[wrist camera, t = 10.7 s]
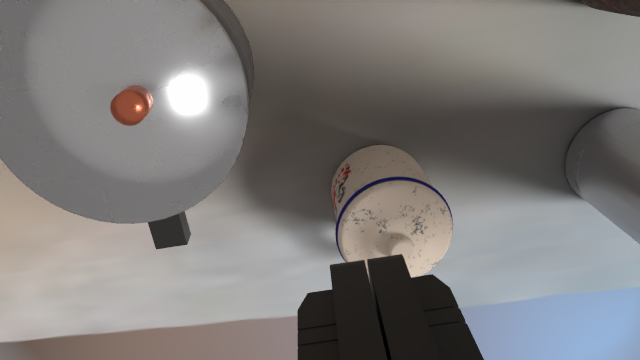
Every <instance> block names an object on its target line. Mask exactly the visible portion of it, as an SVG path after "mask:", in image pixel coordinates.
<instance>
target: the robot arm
mask: <svg viewBox="0 0 640 360" xmlns="http://www.w3.org/2000/svg"><path fill="white" fill-rule="evenodd" d="M565 170H566V176H567V179H568V182H569V184H570V185H571V187H572V189H573V190H574V191H575V192H576V193H577V194H579V195H580V196H581V197H582V198H583V199H585V200H586V201H587V202H588V203H590V204H591V205H592V206H593V207H595V208H596V209H597V210H598V211H599V212H601V213H602V214H603V215H604V216H605V217H607V218H608V219H609V220H610V221H612V222H613V223H614V224H615V225H617V226H618V227H619V228H620V229H622V230H623V231H624V232H625V233H627V234H628V235H629V236H630V237H632V238H633V239H634V240H635V241H637V242H638V243H639V244H640V110H638V109H632V108H622V109H615V110H611V111H608V112H606V113H603V114H601V115H599V116H597V117H596V118H594V119H592V120H591V121H590V122H589V123H587V124H586V125H585V126H584V127H583V128H582V129H581V130H580V131H579V132H578V134H577V135H576V136H575V138H574V140H573V141H572V143H571V144H570V147H569V150H568V152H567V156H566V162H565ZM367 265H368V273H369V277H368V273H367V269H366V264H365V260H360V261H353V262H346V263H340V264H333V265H330V271H331V280H332V290H325V291H319V292H312V293H308V294H307V295H306V297H305V299H304V301H303V302H302V304H301V306H300V307H299V309H298V360H484V359H483V357H482V355H481V353H480V351H479V349H478V346H477V344H476V342H475V340H474V338H473V336H472V334H471V332H470V330H469V327H468V325H467V324H466V323H465V319H464V317H463V315H462V313H461V310H460V309H459V308H458V304H457V302H456V300H455V298H454V296H453V294H452V291H451V289H450V288H449V287H448V286H447V285H446V284H444V283H443V282H442V281H440V280H439V279H438V278H436V277H435V276H434V275H433V274H432V275H425V276H418V277H412V278H411V276H410V273H409V271H408V268H407V265H406V262H405V260H404V257H403V255H402V254H399V255H392V256H386V257H379V258H372V259H367ZM369 280H370V282H369Z"/></svg>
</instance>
